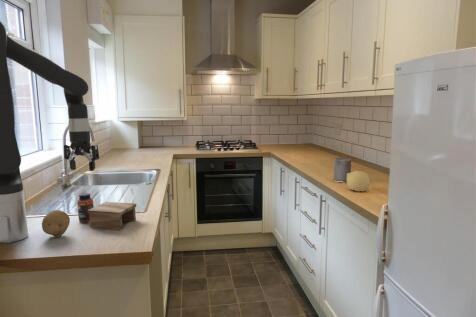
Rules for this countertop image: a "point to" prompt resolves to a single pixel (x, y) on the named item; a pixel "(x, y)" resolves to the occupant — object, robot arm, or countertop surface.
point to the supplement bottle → (84, 207)
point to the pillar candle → (342, 168)
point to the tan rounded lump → (358, 181)
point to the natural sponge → (55, 223)
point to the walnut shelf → (111, 215)
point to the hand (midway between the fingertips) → (82, 170)
